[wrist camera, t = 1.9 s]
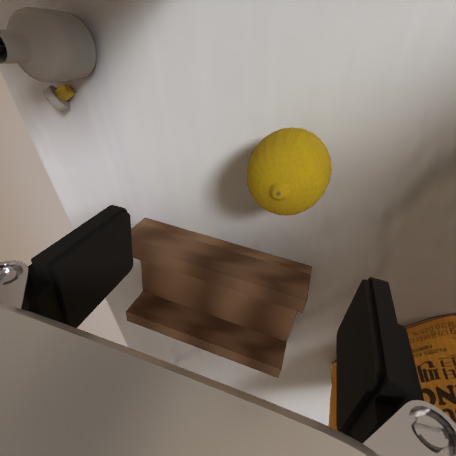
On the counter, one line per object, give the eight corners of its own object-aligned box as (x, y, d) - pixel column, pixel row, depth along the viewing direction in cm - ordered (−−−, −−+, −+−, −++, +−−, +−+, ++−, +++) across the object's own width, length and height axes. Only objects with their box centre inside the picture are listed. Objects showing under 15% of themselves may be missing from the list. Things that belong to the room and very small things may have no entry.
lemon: (337, 180, 24) (335, 230, 17) (270, 191, 26) (246, 239, 20) (327, 108, 21) (319, 135, 15) (254, 127, 24) (220, 157, 17)
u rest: (311, 266, 28) (306, 300, 25) (285, 341, 35) (278, 377, 31) (145, 217, 32) (118, 240, 28) (148, 293, 38) (127, 320, 35)
